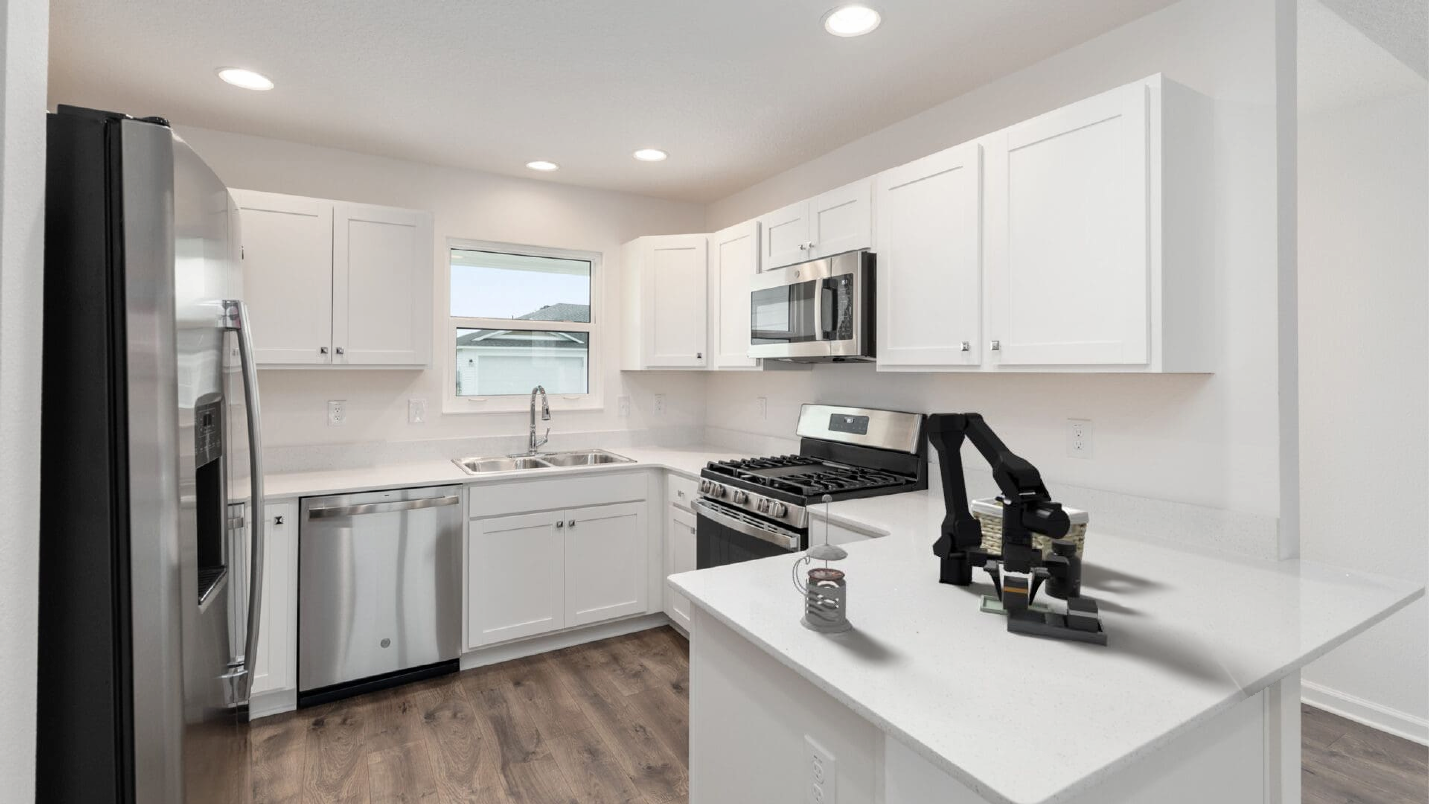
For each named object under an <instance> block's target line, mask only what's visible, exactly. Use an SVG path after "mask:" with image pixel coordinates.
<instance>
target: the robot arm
mask: <svg viewBox="0 0 1429 804" xmlns="http://www.w3.org/2000/svg"><path fill="white" fill-rule="evenodd" d="M925 429H926V435H927V438H928V442H929V443H930V444H931V446H932V447H933V448H934V449H935V450H936V451H937V457H938V464H939V471H940V478H941V486H942V492H943V498H944V500H943V501H944V507H945V516H944V518H943V521H942V523H941V524H940V534H941V535H940V536H939V538H938V539H937V540H936V541H935V542H934V543H933V544H932V551H933V552H932V553H933V556H935V557H938V558H940V560H939V563H940V565H939V579H938V583H939V584H945V585H952V586H961V587H970V584H972V583H973V569H974V568H973V567H975V568H981V569H982V571H983V572H986V573H988V574H989V576H990V577H991V580H992V582H993V584H994V587H995V592H996V595H997V597H998V598H999V601H1000V602H1002V598H1003V587H1002V580H1001V572H1000V565H1003V568H1002V569H1003V570H1004V571H1005V572H1006V573H1019V574H1023V575H1030V574H1031V572H1032V575H1031V583H1030V586H1029V587H1030V588H1029V594H1028V601H1029V606H1031V605H1032V603H1033V602H1034V600H1035V598H1036V595H1037V592H1038V590H1039V589H1040V587H1041V586H1042V584H1043V582H1045V579H1051V576H1057V577H1065V578H1068V577H1070V565H1069V562H1068V560H1067V559H1066V557H1063V556H1054V555H1046V560H1045V559H1042V549H1036V548H1033V533H1036V534H1039V535H1043V536H1046V537H1049V538H1052V539H1056V540H1058V539H1061V538H1063V537H1064V536H1065V535H1066V534H1067V533H1068V531H1069V528H1070V520H1069V517H1068V515H1067V513H1066V512H1065V511H1063V510H1062V506H1063V504H1062V502H1058V501H1052V497H1051V495H1050V492H1049V491H1048V489H1047V487H1046V485H1045V483H1044V481H1043V479H1042V477H1041V473H1040V471H1039V470H1038V468H1037V467H1035V466H1034V465H1033V464H1032V463H1030V462H1029V460H1027V459H1025V458H1023V457H1020V456H1018V455H1016V454H1015V453H1013V451H1011V450H1010V449H1009V447H1008V446H1006V444H1005V443H1004V442H1003V441H1002V440H1001V438H999V437H998V435H997V434H996V433H995V431H994V430H992V428H991V427H990V426H989V424H987V423H986V422H985V419H984V417H983V415H982V414H981V413H979V412H976V411H975V412H974V411H973V412H961V413H958V412H946V413H945V412H932V413H931V414H930V415H929V416H928V417H927V419H926V421H925ZM966 437H967V439H968V440H969V441H970V443H971V444H973V445H974V447H975V449H976V450H977V451H979V453H980V455H981V456H982V457H983V458H984V459H985V460H986V462H987V463H988V464H989V465H990V467H991V468H992V471H991V472H992V478H993V479H994V482H995V484H997V487H998V488H999V490H1000V491H1001V493H1000V494H998V495H997V496H996V498H995V497H994V498H995V500H996V501H998V502H1002V503H1003V512H1002V546H1001V555H1000V554H991V553H988V548H980V546H981V545H982V537H983V534H982V531H981V522H980V520H979V519H974V517H973V514H972V513H971V512H970V509H969V501H968V494H967V488H966V481H965V475H964V473H965V472H964V467H963V462H962V461H963V460H962V456H961V455H962V453H961V448H962V446H963V443H964V441H965V439H966ZM1031 568H1033V571H1032V570H1031Z"/></svg>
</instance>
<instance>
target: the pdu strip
mask: <svg viewBox="0 0 1429 804" xmlns="http://www.w3.org/2000/svg"><path fill="white" fill-rule="evenodd" d="M1006 631H1007V632H1010V633H1016V634H1017V633H1018V634H1021V635H1023V634H1024V635H1030V636H1036V637H1042V638H1043V637H1044V638H1049V639H1056V640H1062V641H1069V642H1076V643H1082V644H1087V645H1096V646H1102V647H1107V643H1108V642H1107V641H1108V634H1107V632H1106V630H1105V626H1104V624H1103V622H1102V619H1100V618H1098V630H1097V632H1096V631H1089V630H1083V629H1076V628H1069V627H1067V613H1066V614H1065V613H1059V612H1052V611H1051V612H1045V611H1038V610H1031V609H1024V608H1016V607H1009V606H1007V615H1006Z"/></svg>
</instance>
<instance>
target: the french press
mask: <svg viewBox="0 0 1429 804" xmlns="http://www.w3.org/2000/svg"><path fill="white" fill-rule="evenodd" d="M821 500H822V502H826V520H825V521H826V522H825V524H826V527H825V528H826V529H825V530H826V531H825V532H826V534H825V541H826V542H825V543H819V544H815V545H813V546H811V547H809V548H807V549H806V550H805V552H804V553H805V554H806V555H804V556H802V557H801V558H799V559H798V560H797V561H795V563H794V565H793V567H792V571H791V572H792V580H793V584H794V587H795V588H796V589H797V591H798V592H799V593H801V594H802V596H804V615H803V616H802V617H801V618H800V620H799V623H800V625H801V626H802V627H804V628H806V629H807V630H810V631H812V632H817V633H825V634H829V633H830V634H836V633H841V632H845V631H847V630H850V629H851V626H852V623H851V622H850V620H849V619H848V618H847V615H846V614H847V609H846V608H847V581H846V579H844V577H845V576H846V574H845V573H844V571H842V570H839V569H835V568H831V567H830V568H829V567H827V566H828V561H829V562H835V561H842V560H845V559H847V557H848V556H849V553H848V552H847V551H846V550H845V549H843V548H842V547H840V546H837V545H836V544H831V543H828V514H829V513H828V511H829V510H828V508H829V502H830V503H831V502H833V497H832V496H831V495H830V494H824V495H823V496H822V499H821ZM807 558H808V559H807ZM811 559H813V560H814V559H815V560H819V561H825V567H816V568H811V569H809V570H808V571H807V575H808V579H807V578H806V579H805V588H804V586H803V585H802V584H801V582H800V580H799V576H798V567H799V565H800V563H801V561H803V560H804V561H805V565H809V563H811ZM795 576H796V580H797V583H798V585H799V586H800V587H801V589H803V591H805V593H804V592H803V591H802V590H800V589H799V587H798V586H797V583H796V581H795ZM821 582H833V583H835V584H836V585H837V587H836V585H833V584H831V583H822V584H819V583H821ZM819 596H821V597H819ZM827 600H829V601H832V602H829V601H827Z"/></svg>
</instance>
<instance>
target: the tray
mask: <svg viewBox="0 0 1429 804" xmlns="http://www.w3.org/2000/svg"><path fill="white" fill-rule="evenodd" d="M1028 609H1031V610H1038V611H1045V612H1052V609H1051V604H1050V603H1043V602H1039V601H1038V602H1037V601H1033V603H1032V605H1031V606H1029V600H1028ZM979 611H980V612H986V613H992V614H999V615H1006V616H1007V610H1003V597H1002V602H1000V601H999V598H998V596H993V595H987V594H986V595H984V594H981V596H980V603H979Z"/></svg>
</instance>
